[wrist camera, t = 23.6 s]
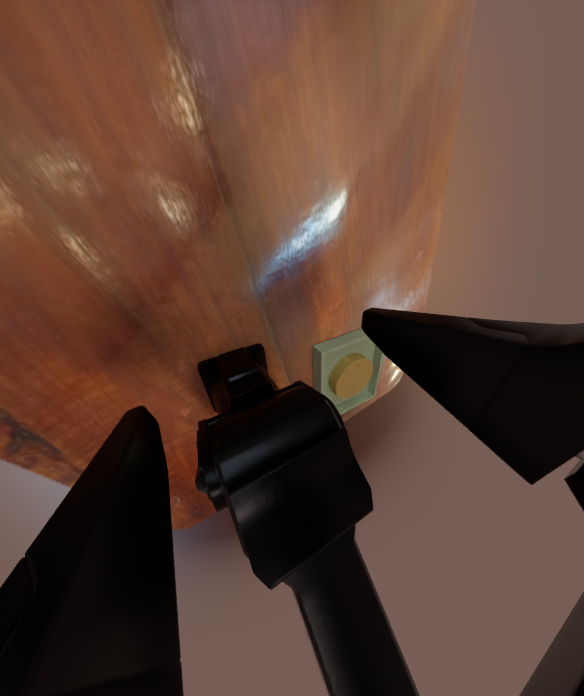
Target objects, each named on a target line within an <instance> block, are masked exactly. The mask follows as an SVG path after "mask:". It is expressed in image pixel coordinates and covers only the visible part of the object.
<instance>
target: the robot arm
mask: <svg viewBox="0 0 584 696" xmlns="http://www.w3.org/2000/svg"><path fill="white" fill-rule="evenodd" d="M361 327H362V330H363V332H364V333H365V334H366V335H367V336H368V337H369V339H370V340H371V341H372V342H373V343H374V344H375V345H376V346H377V347H378V348H379V349H380V350H381V352H382V353H383V354H384V355H385V356H387V357H388V358H389V359H390V360H391V361H392V362H393V363H394V364H395V365H397V366H398V367H399V368H400V369H401V370H402V371H403V372H404V373H406V374H407V375H408V376H409V377H410V378H411V379H412V380H413V381H415V382H416V383H417V384H418V385H419V386H420V387H421V388H422V389H424V390H425V391H426V392H427V393H428V394H429V395H430V396H431V397H433V398H434V399H435V400H436V401H437V402H438V403H439V404H441V405H442V406H443V407H444V408H445V409H446V410H447V411H448V412H450V414H452V415H453V416H454V417H455V418H456V419H457V420H458V421H459V422H461V423H462V424H463V425H464V426H465V427H466V428H467V429H469V431H470V432H472V433H473V434H474V435H475V436H476V437H477V438H478V439H479V440H481V441H482V442H483V443H484V444H485V445H486V446H487V447H489V448H490V449H491V450H492V451H493V452H494V453H495V454H496V455H497V456H498V457H500V458H501V459H502V460H503V461H504V462H505V463H506V464H508V465H509V466H510V467H511V468H512V469H513V470H514V471H515V472H517V473H518V474H519V475H520V476H521V477H522V478H523V479H525V480H526V481H527V482H528V483H530V484H531V485H533V484H534V483H536V482H537V481H539V480H540V479H542V478H543V477H544V476H546V475H547V474H549V473H550V472H552V471H553V470H555V469H556V468H558V467H559V466H561V465H562V464H564V463H565V462H567V461H568V460H570V459H571V458H573V457H576V458H578V459H579V460H580V461H579V462H578V463H577V465H576V466H575V467H574V468H573V469H572V470H571V472H570V473H569V474H568V475H567V476H566V478H565V479H564V480H565V481H566V483H567V485H568V486H569V488H570V490H571V491H572V493H573V495H574V496H575V498H576V500H577V501H578V503H579V504H580V506H581V507H582V509H583V511H584V323H581V324H546V323H529V322H514V321H500V320H489V319H478V318H466V317H458V316H448V315H439V314H438V315H437V314H429V313H419V312H409V311H399V310H390V309H380V308H370V309H367V310H365V311H364V312H363V315H362V326H361ZM259 347H260V349H259V350H257V349H258V348H259ZM201 366H206V367H204V368H201ZM197 368H198V371H199V374H200V376H201V379H202V381H203V384H204V386H205V389H206V391H207V394H208V397H209V399H210V402H211V404H212V407H213V409H214V411H215V412H217V413H218V415H217V416H215V417H212V418H210V419H207V420H206V419H204V420H201V421H199V422H198V428H199V430H198V431H197V442H196V444H197V450H198V469H197V474H196V479H195V483H196V487H197V490H198V491H199V492H202V493H204V494H207V495H208V497H209V499H210V501H211V502H212V503H213V505H214V507H215V509H216V511H217V512H218V513H220V512H222V511H224V510H225V509H227V508H229V510H230V513H231V516H232V519H233V522H234V525H235V528H236V531H237V534H238V537H239V540H240V543H241V546H242V549H243V552H244V554H245V556H247V557H248V559H249V560H250V563H251V567H252V570H253V572H254V574H255V575H256V577H258V578H259V579H260V580H261V581H262V582H263V583H264V584H265V585H266V586H267V587H268V588H269V589H273V588H274V587H276V586H277V585H278V584H280V583H281V582H284V583H285V584H286V585H288V586H289V587H291V589H292V592H293V595H294V598H295V601H296V604H297V606H298V609H299V612H300V615H301V618H302V621H303V624H304V627H305V629H306V632H307V635H308V638H309V641H310V644H311V647H312V650H313V653H314V656H315V658H316V661H317V664H318V667H319V670H320V673H321V676H322V679H323V681H324V685H325V687H326V690H327V693H328V696H420V695H419V693H418V691H417V688H416V686H415V683H414V681H413V678H412V676H411V674H410V671H409V669H408V666H407V664H406V662H405V659H404V657H403V654H402V652H401V650H400V647H399V645H398V642H397V640H396V637H395V635H394V633H393V630H392V628H391V625H390V623H389V620H388V618H387V616H386V613H385V611H384V608H383V606H382V603H381V601H380V599H379V596H378V594H377V591H376V589H375V587H374V584H373V582H372V579H371V577H370V574H369V572H368V570H367V567H366V565H365V562H364V560H363V558H362V555H361V553H360V550H359V548H358V545H357V543H356V539H355V534H356V523H358V522H359V521H360V520H361V519H363V518H364V517H365V516H366V515H368V514H369V513H370V512H372V511H373V502H372V493H371V488H370V486H369V484H368V482H367V480H366V478H365V476H364V474H363V472H362V471H361V468H360V467H359V464H358V462H357V460H356V458H355V456H354V453H353V450H352V448H351V446H350V441H349V437H348V433H347V430H346V429H345V426H344V423H343V420H342V418H341V415H340V413H339V412H338V410H337V408H336V407H335V405H334V404H333V403H332V401H331V400H330V399H329V398H328V397H326V396H325V395H323V394H322V393H320V392H318V391H317V390H315V389H313V388H312V387H310V386H308V385H307V384H305V383H303V382H302V381H300V380H299V381H296V382H294V384H292V385H290V386H287V387H285V388H283V389H280V390H279V388H278V387H277V385H276V384H275V382H274V381H273V380H272V378H271V377H270V375H269V374H268V370H267V364H266V358H265V352H264V347H263V346H262V345H261V344H255V345H252V346H248V347H245V348H244V347H242V348H239V349H236V350H233V351H230V352H226V353H223V354H220V355H218V356H217V357H214V358H211V359H207V360H204V361H201V362H199V363H198V365H197ZM180 658H181V654H180V640H179V625H178V611H177V597H176V581H175V567H174V553H173V539H172V523H171V509H170V494H169V480H168V468H167V463H166V457H165V453H164V448H163V443H162V438H161V433H160V429H159V425H158V422H157V420H156V419H155V418H154V417H153V416H152V415H151V413H150V412H149V411H148V410H147V409H146V408H145V407H144V406H138V407H135V408H133V409H131V410H128V411H127V412H126V413H125V414H124V416H123V417H122V418H121V420H120V421H119V423H118V424H117V425H116V427H115V428H114V430H113V431H112V432H111V434H110V435H109V437H108V438H107V439H106V441H105V442H104V444H103V445H102V446H101V448H100V449H99V451H98V452H97V453H96V455H95V456H94V458H93V459H92V460H91V462H90V463H89V465H88V466H87V467H86V469H85V470H84V472H83V473H82V474H81V476H80V477H79V479H78V480H77V481H76V483H75V484H74V486H73V487H72V488H71V490H70V491H69V493H68V494H67V495H66V497H65V498H64V500H63V501H62V503H61V504H60V505H59V507H58V508H57V509H56V511H55V512H54V514H53V515H52V516H51V518H50V519H49V521H48V522H47V523H46V525H45V526H44V528H43V529H42V530H41V532H40V533H39V535H38V536H37V537H36V539H35V540H34V542H33V543H32V544H31V546H30V547H29V549H28V550H27V551H26V553H25V557H23V558H22V559H21V560H20V561H19V562H18V564H17V565H16V567H15V568H14V569H13V571H12V572H11V574H10V575H9V576H8V578H7V579H6V581H5V582H4V583H3V585H2V586H1V587H0V696H184V695H183V680H182V666H181V661H180ZM520 696H584V592H583V594H582V595H581V597H580V599H579V600H578V602H577V604H576V605H575V607H574V608H573V610H572V611H571V613H570V615H569V616H568V618H567V620H566V621H565V623H564V624H563V626H562V628H561V629H560V631H559V633H558V634H557V636H556V637H555V639H554V641H553V642H552V644H551V646H550V647H549V649H548V650H547V652H546V654H545V655H544V657H543V658H542V660H541V662H540V663H539V665H538V666H537V668H536V670H535V671H534V673H533V675H532V676H531V678H530V679H529V681H528V683H527V684H526V686H525V688H524V689H523V691H522V692H521V694H520Z"/></svg>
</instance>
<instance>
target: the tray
mask: <svg viewBox="0 0 584 696" xmlns="http://www.w3.org/2000/svg"><path fill="white" fill-rule="evenodd" d="M352 353H359V354H360V353H361V354H362V355H364V356H365V357H366V358H368V359H369V360H370V361H371V362H372V364H373V372H372V376H371V378H370V380H369V382H368V383H367V385H366V386H365V387H364V388H363V389H362V390H361V391H360V392H359V393H358V394H356V395H355V396H353V397H351V398H347V399H342V398H340V397H338V396H337V395H335V394H334V393H333V392H332V390H331V389H330V387H329V385H328V384H329V376H330V373H331V371H332V369H333V368H334V366H335V365H336V364H337V363H338V362H339V361H340V360H341V359H342V358H343V357H345V356H347V355H349V354H352ZM383 358H384V354H383V353H382V352H381V350H380V349H379V348H378V347H377V346H376V345H375V344H374V343H373V342H372V341H371V340H370V339H369V337H368V336H367V335H366V334H365V333H364V332H363V330H362V328H361V329H358V330H355V331H352V332H350V333H347V334H344V335H341V336H338V337H336V338H333V339H330V340H327V341H324V342H322V343H319V344H316V345H313V389H315V390H317V391H318V392H320V393H322V394H323V395H325V396H326V397H328V398H329V399H330V400H331V401H332V403H333V404H334V405H335V407H336V408H337V410H338V412H339V413H340V415H341V414H343V413H345V412H347V411H349V410H351V409H353V408H355V407H356V406H358V405H360V404H362V403H364V402H366V401H368V400H370V399H372V398H374V397H375V396H376V392H377V387H378V382H379V377H380V372H381V367H382V363H383Z"/></svg>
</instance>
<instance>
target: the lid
mask: <svg viewBox="0 0 584 696" xmlns="http://www.w3.org/2000/svg"><path fill="white" fill-rule="evenodd" d="M372 372H373V364H372V362H371V361H370V360H369V359H368V358H366V357H365V356H364V355H362V354H361V353H360V354H359V353H352V354H349V355H347V356H345V357H343V358H342V359H341V360H340V361H339V362H338V363H337V364H336V365H335V366H334V368H333V369H332V371H331V373H330V376H329V384H328V385H329V387H330V389H331V390H332V392H333V393H334V394H335V395H337V396H338V397H340V398H342V399H347V398H351V397H353V396H355V395H356V394H358V393H359V392H360V391H361V390H362V389H363V388H364V387H365V386H366V385H367V383H368V382H369V380H370V378H371V376H372Z"/></svg>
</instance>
